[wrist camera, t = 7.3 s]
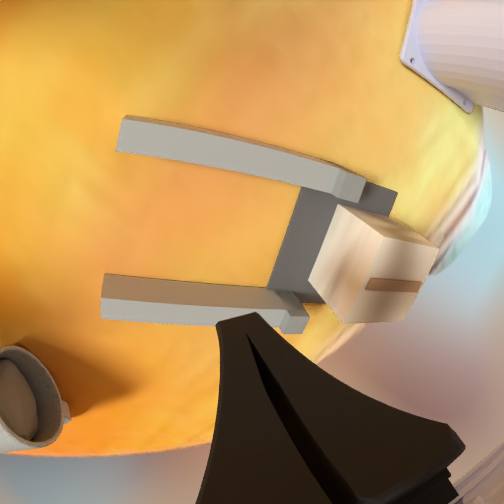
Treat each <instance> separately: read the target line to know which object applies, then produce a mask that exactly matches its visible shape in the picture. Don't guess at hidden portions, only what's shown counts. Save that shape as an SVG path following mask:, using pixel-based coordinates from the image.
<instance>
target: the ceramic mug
mask: <svg viewBox="0 0 504 504" xmlns="http://www.w3.org/2000/svg"><path fill="white" fill-rule="evenodd" d="M70 421H71V414H70V410H69V406H68V403H67V402H65V401H63V400H62V399H61V396H60V393H59V390H58V387H57V385H56V383H55V381H54V379H53V377H52V376H51V374H50V372H49V371H48V370H47V368H46V367H45V366H44V364H43V363H42V362H41V361H40V360H39V359H38V358H37V357H36V356H34V355H33V354H32V353H31V352H30V351H28V350H26V349H24V348H22V347H19V346H15V345H6V346H3V347H0V453H5V452H11V451H19V450H28V449H37V448H42V447H46V446H48V445H50V444H52V443H53V442H54V441H56V439H57V438H58V436H59V435H60V433H61V431H62V428H63V424H66V423H68V422H70Z"/></svg>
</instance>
